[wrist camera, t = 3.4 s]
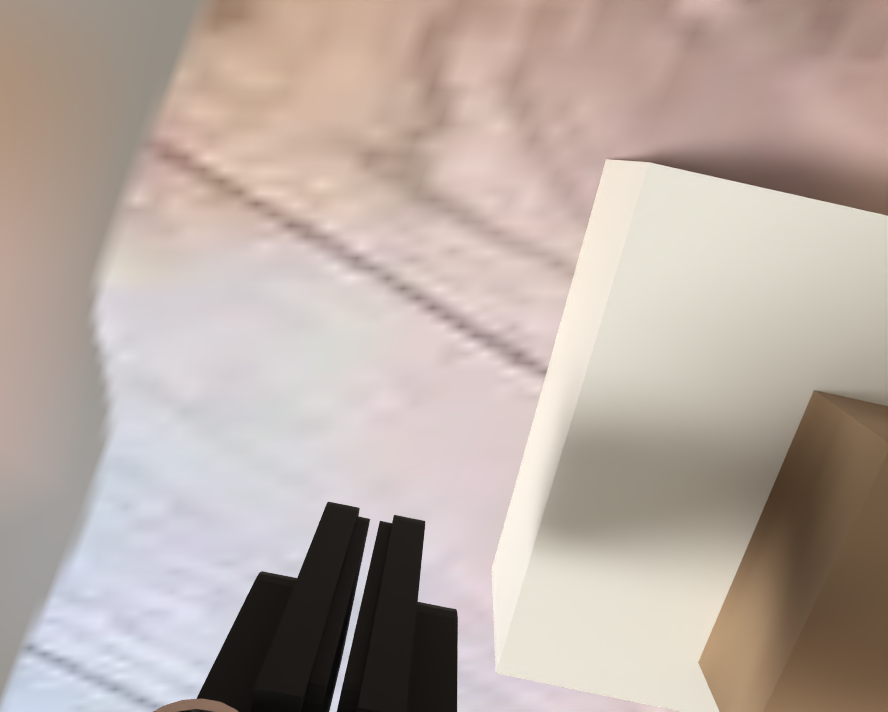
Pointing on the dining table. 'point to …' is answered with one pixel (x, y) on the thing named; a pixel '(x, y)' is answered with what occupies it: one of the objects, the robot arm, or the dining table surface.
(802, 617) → the block
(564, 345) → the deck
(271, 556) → the dining table surface
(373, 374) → the dining table surface
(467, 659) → the dining table surface
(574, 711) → the dining table surface
